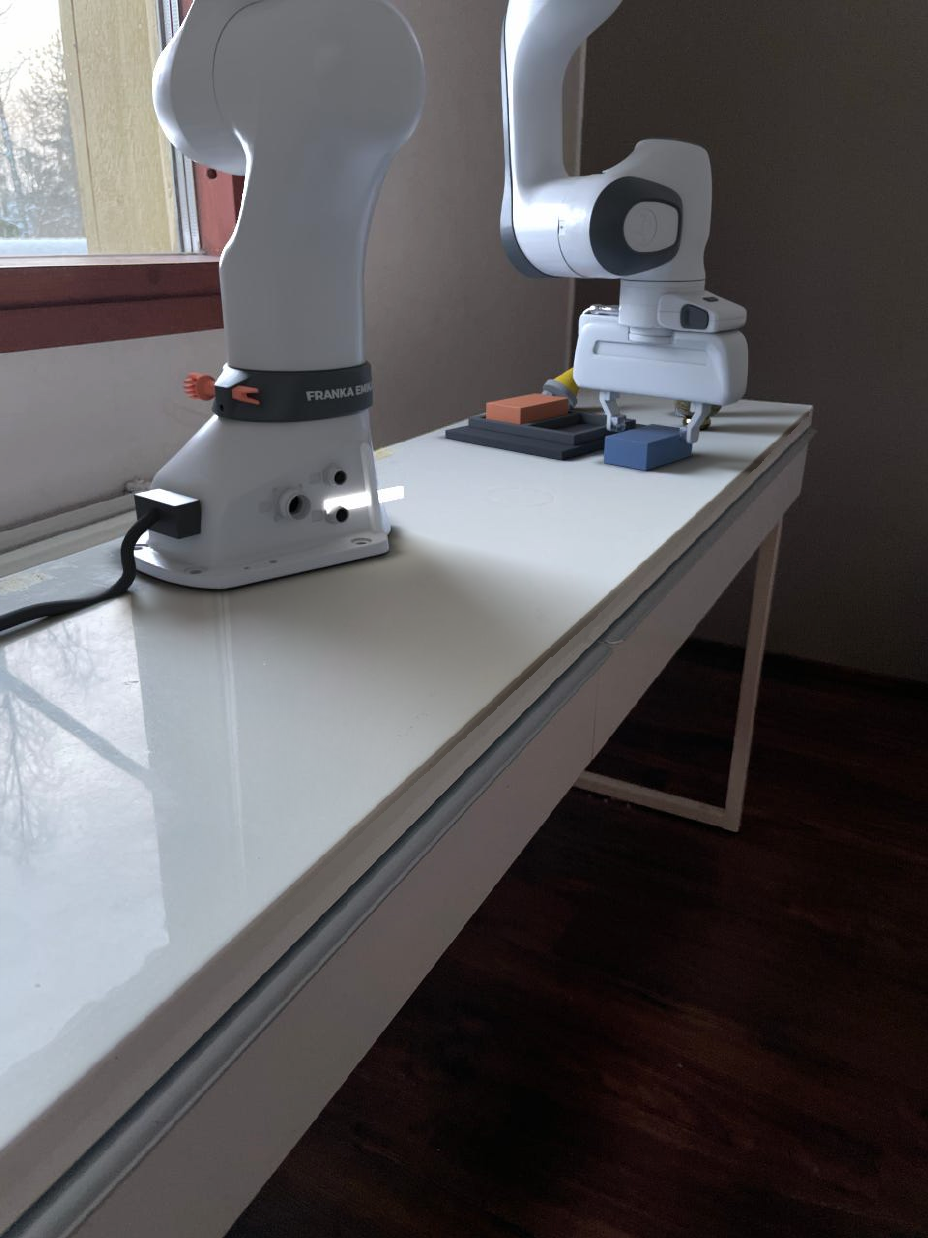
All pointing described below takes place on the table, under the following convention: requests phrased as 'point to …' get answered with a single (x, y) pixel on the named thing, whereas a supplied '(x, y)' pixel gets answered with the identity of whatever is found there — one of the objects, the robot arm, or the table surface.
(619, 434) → the blue rectangular block
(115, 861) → the table surface
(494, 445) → the backing plate
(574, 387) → the yellow cone tip
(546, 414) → the orange-red rectangular block
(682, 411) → the cup
